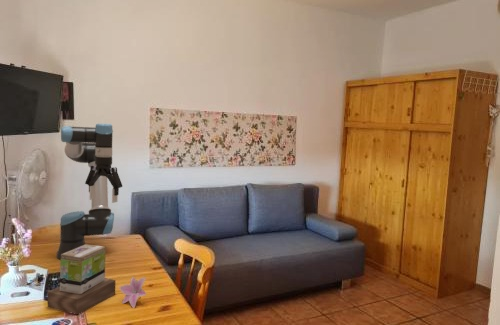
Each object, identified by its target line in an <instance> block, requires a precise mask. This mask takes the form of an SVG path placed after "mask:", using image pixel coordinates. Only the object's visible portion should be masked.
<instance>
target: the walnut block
mask: <svg viewBox="0 0 500 325" xmlns="http://www.w3.org/2000/svg"><path fill="white" fill-rule="evenodd" d="M114 295H116V280H115V279H112V278H108V277H105V280H104V281H102V282H100V283H99V284H97V285H95V286H93V287H92V288H90V289H88V290H87V291H85V292H83V293H82V294H75V293H69V292H64V291H60V285H59V286H57V287H55V288H53V289H51V290H49V291H47V308H50V309H54V310H58V311H61V312H65V313H68V312H72V313H75V314H78V315H80V314H82V313H84V312H86V311H88V310H89V309H91V308H93V307H94V306H96V305H98V304H100V303H102V302H103V301H106V300H107V299H109V298H111V297H112V296H114ZM81 312H82V313H81ZM72 313H71V314H72ZM79 313H80V314H79ZM75 314H74V315H75Z"/></svg>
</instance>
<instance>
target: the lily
mask: <svg viewBox="0 0 500 325" xmlns="http://www.w3.org/2000/svg"><path fill="white" fill-rule="evenodd" d="M146 280H147V279H146V277H141V278H139V279H138V280H137V279H136V278H135V277H134V276H132V277H131V279H130V282H129V284H123V285H121V286H119V291H120V292H121V293H123V294H124V297H123V300H122V302H121V304H123V305H124V304H125V303H127V302H129V304H130V306H131V307H132V308H133V309H135V307H136V305H137V301H138V298H140V299H141V298H142V297H143V296H146V295H147V292H146V291H145V290H144V289H143V288H142V287H143V285H144V284H145V281H146Z"/></svg>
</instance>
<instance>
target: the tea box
mask: <svg viewBox="0 0 500 325" xmlns="http://www.w3.org/2000/svg"><path fill="white" fill-rule="evenodd" d="M106 248H107V247H106V246H103V245H102V246H101V245H94V244H86V243H85V245H83V246H80V247H78V248H75V249H73V250H70V251H68V252H66V253H63V254H61V260H60V264H59V265H60V271H59V276H60V277H59V286H60V291H64V292H69V293H75V294H82V293H83V292H85V291H87V290H88V289H90V288H92V287H93V286H95V285H97V284H99V283H100V282H102V281H104V280H105V278H106Z"/></svg>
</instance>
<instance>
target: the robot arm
mask: <svg viewBox="0 0 500 325" xmlns="http://www.w3.org/2000/svg"><path fill="white" fill-rule="evenodd" d="M113 133H114V130H113V125H112V124H111V123H95V127H89V126H87V127H86V126H85V127H84V126H71V125H69V126H62V127H61V128H60V141H61V142H62V143H65V146H64V153H65V155H66V156H67V158H68V159H70V160H71V161H74V162H76V163H81V164H88V165H87V166H88V167H89V168H90V170H89V172H88V175H87V177H86V180H85V182H84V185H87V186H88V193H89V200H91V208H90V209H89V210H88V213H85V212H84V211H82V210H81V211H79V210H78V211H71V212H67V213H65V214H63V215H62V216H61V217H60V222H59V226H60V239H59V243H60V244H59V246H58V250H57V251H56V258H57V259H58V260H60V261H61V254H63V253H66V252H68V251H70V250H73V249H75V248H78V247H80V246H83V245H85V244H86V242H85V237H87V236H89V237H90V236H101V235H102V236H104V235H109V234H112V232H113V229H114V221H115V213H114V212H112V209H111V208H110V207H109V198H108V197H109V196H108V194H109V191H108V188H109V187H108V181H109V183H110V184H111V186H112V191H111V203H118V196H119V192H120V191H119V189H120V188H122V187H123V183H122V181H121V178H120V175H119V173H118V168H117V167H116V166H115V167H112V166H113V165H112V164H113Z"/></svg>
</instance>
